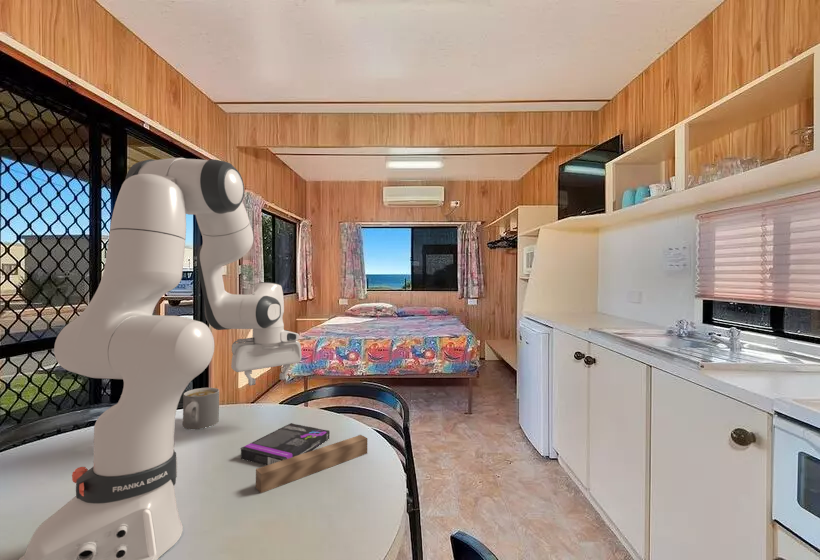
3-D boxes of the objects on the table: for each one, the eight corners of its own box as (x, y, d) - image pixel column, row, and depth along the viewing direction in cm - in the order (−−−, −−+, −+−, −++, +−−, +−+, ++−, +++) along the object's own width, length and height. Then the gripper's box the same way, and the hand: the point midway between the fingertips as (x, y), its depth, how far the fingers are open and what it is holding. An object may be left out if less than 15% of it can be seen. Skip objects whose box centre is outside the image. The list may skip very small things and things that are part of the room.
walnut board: (260, 493, 79) (261, 474, 79) (255, 487, 81) (255, 469, 82) (367, 453, 98) (367, 438, 98) (360, 449, 101) (360, 434, 101)
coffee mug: (198, 417, 124) (198, 386, 124) (225, 418, 122) (226, 388, 123) (166, 432, 111) (166, 399, 111) (196, 435, 109) (196, 400, 109)
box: (283, 473, 89) (330, 441, 107) (283, 459, 89) (330, 428, 107) (239, 461, 95) (291, 432, 113) (239, 447, 95) (291, 420, 113)
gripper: (235, 340, 103) (235, 391, 103) (304, 334, 117) (303, 378, 117) (228, 338, 107) (227, 386, 107) (294, 332, 121) (294, 374, 121)
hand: (267, 381), depth 112 cm, fingers open, 8 cm apart
